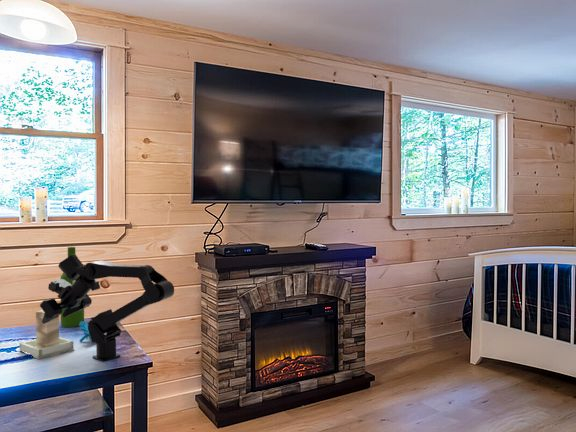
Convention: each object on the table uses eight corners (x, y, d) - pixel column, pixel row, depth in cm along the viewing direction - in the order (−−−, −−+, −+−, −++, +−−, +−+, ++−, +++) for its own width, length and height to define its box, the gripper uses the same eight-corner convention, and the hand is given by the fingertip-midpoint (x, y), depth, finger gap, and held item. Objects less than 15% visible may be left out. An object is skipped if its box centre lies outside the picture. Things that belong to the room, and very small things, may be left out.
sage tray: (73, 349, 165) (73, 341, 165) (38, 359, 155) (38, 350, 155) (53, 343, 173) (53, 334, 173) (19, 351, 163) (19, 343, 163)
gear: (97, 341, 170) (77, 321, 170) (84, 353, 169) (65, 333, 169) (106, 336, 181) (88, 318, 181) (95, 347, 180) (77, 329, 180)
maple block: (59, 346, 166) (58, 309, 165) (47, 350, 161) (46, 312, 160) (48, 344, 167) (47, 308, 167) (36, 349, 163) (35, 311, 162)
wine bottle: (73, 328, 192) (72, 248, 191) (56, 326, 195) (54, 248, 194) (89, 322, 201) (87, 246, 200) (72, 320, 204) (70, 245, 202)
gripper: (84, 267, 170) (59, 296, 173) (43, 276, 152) (17, 308, 155) (103, 290, 168) (78, 319, 171) (64, 301, 150) (37, 333, 153)
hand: (53, 319), depth 163 cm, fingers open, 9 cm apart
